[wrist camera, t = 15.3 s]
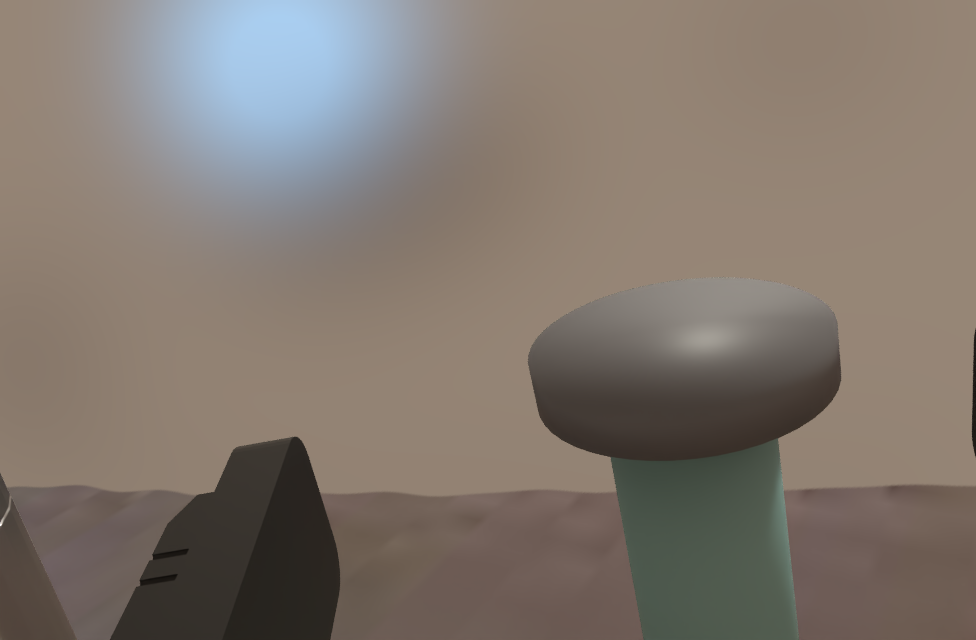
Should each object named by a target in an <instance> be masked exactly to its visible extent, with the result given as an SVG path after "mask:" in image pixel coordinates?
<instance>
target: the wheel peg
mask: <svg viewBox="0 0 976 640" xmlns="http://www.w3.org/2000/svg"><path fill="white" fill-rule="evenodd" d="M528 365H529V370H530V375H531V379H532V384H533V389H534V393H535V398H536V403H537V407H538V412H539V415H540V418H541V420H542V421H543V423H544V425H545V426H546V427H547V428H548V429H549V430H550V431H551V432H552V433H553V434H554V435H556V436H557V437H559V438H560V439H561V440H563V441H565V442H567V443H569V444H571V445H573V446H575V447H577V448H580V449H583V450H586V451H589V452H592V453H596V454H600V455H604V456H608V457H611V462H612V468H613V473H614V479H615V484H616V490H617V495H618V501H619V506H620V512H621V517H622V523H623V528H624V534H625V539H626V545H627V550H628V556H629V561H630V567H631V572H632V578H633V583H634V589H635V594H636V600H637V605H638V611H639V616H640V622H641V627H642V633H643V638H644V640H799V634H798V625H797V615H796V606H795V596H794V587H793V577H792V568H791V558H790V549H789V539H788V530H787V520H786V510H785V501H784V491H783V482H782V472H781V463H780V453H779V444H778V438H779V437H782V436H784V435H786V434H788V433H790V432H792V431H794V430H796V429H798V428H800V427H801V426H803V425H804V424H806V423H807V422H809V421H810V420H812V419H813V418H815V417H816V416H817V415H818V414H819V413H821V412H822V411H823V410H824V409H825V408H826V407H827V406H828V405H829V403H830V402H831V401H832V400H833V398H834V397H835V395H836V393H837V391H838V389H839V386H840V382H841V366H840V354H839V339H838V325H837V320H836V317H835V314H834V313H833V312H832V310H831V309H830V307H829V306H828V305H827V304H825V303H824V302H823V301H822V300H820V299H819V298H817V297H816V296H814V295H812V294H810V293H808V292H806V291H803V290H801V289H799V288H795V287H792V286H789V285H785V284H781V283H776V282H771V281H763V280H757V279H746V278H698V279H685V280H677V281H669V282H663V283H658V284H651V285H647V286H642V287H638V288H633V289H630V290H626V291H622V292H619V293H616V294H612V295H609V296H606V297H603V298H601V299H598V300H596V301H593V302H591V303H588V304H586V305H584V306H581V307H580V308H577V309H575V310H574V311H571V312H570V313H568V314H566V315H564V316H563V317H561V318H560V319H558V320H557V321H556V322H554V323H552V324H551V325H550V326H549V327H548V328H546V329H545V330H544V331H543V332H542V333H541V334H540V335H539V336H538V338H537V339H536V340H535V342H534V343H533V345H532V347H531V349H530V352H529V356H528Z"/></svg>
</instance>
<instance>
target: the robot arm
mask: <svg viewBox="0 0 976 640" xmlns="http://www.w3.org/2000/svg"><path fill="white" fill-rule="evenodd" d="M973 363H974V365H973V408H972V409H973V410H972V441H973V447H974V452H975V456H976V330H975V335H974V362H973ZM152 555H153V560H151V561H149V562H148V564H147V566H146V568H145V570H144V572H143V574H142V576H141V578H140V586H138V587H136V588H135V591H134V593H133V595H132V597H131V599H130V601H129V603H128V605H127V607H126V609H125V611H124V613H123V615H122V617H121V619H120V621H119V623H118V625H117V627H116V629H115V631H114V633H113V635H112V637H111V639H110V640H330V638H331V633H332V628H333V622H334V617H335V612H336V607H337V602H338V597H339V590H340V568H339V559H338V553H337V548H336V543H335V540H334V536H333V533H332V530H331V527H330V523H329V520H328V517H327V514H326V511H325V507H324V504H323V501H322V498H321V495H320V492H319V488H318V485H317V482H316V479H315V476H314V472H313V470H312V466H311V463H310V460H309V456H308V454H307V451H306V448H305V446H304V444H303V443H302V441H301V440H300V439H299V438H298V437H291V438H285V439H279V440H274V441H268V442H262V443H256V444H251V445H246V446H239V447H236V448H235V449H234V450H233V452H232V453H231V456H230V458H229V460H228V462H227V465H226V467H225V470H224V471H223V474H222V476H221V478H220V480H219V483H218V485H217V487H216V489H215V492H211V493H206V494H200V495H197V496H196V497H195V498H194V499H193V500H192V501H191V502H190V503H189V504H188V505H187V506H186V507H185V508H184V509H183V510H182V511H180V512H179V513H178V514H177V515H176V516H175V517H174V518H173V519H172V520H171V521H170V522H169V523H168V524H167V526H166V528H165V530H164V532H163V534H162V536H161V538H160V540H159V542H158V544H157V546H156V548H155V550H154V552H153V554H152ZM0 640H77V638H76V636H75V633H74V631H73V629H72V627H71V625H70V623H69V620H68V618H67V616H66V614H65V612H64V610H63V607H62V605H61V603H60V601H59V599H58V597H57V594H56V592H55V590H54V588H53V586H52V584H51V581H50V579H49V577H48V575H47V573H46V571H45V568H44V566H43V564H42V562H41V560H40V558H39V555H38V553H37V551H36V549H35V547H34V545H33V542H32V540H31V538H30V536H29V534H28V532H27V529H26V527H25V525H24V523H23V521H22V519H21V516H20V514H19V512H18V510H17V508H16V505H15V503H14V501H13V499H12V497H11V495H10V493H9V491H8V489H7V487H6V485H5V482H4V480H3V478H2V476H1V474H0Z"/></svg>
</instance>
